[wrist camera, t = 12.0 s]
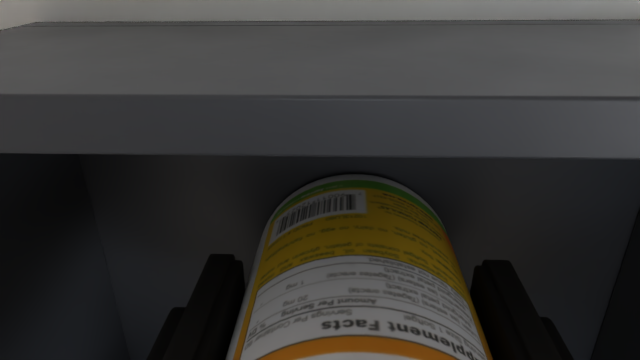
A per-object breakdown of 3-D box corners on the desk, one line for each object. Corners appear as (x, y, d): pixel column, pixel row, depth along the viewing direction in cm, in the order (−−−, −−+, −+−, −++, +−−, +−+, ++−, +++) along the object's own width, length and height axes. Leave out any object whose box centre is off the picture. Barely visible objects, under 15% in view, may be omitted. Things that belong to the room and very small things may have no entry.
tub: (35, 22, 12) (-287, 93, 6) (710, 19, 11) (1144, 98, 5) (127, 376, 18) (10, 603, 11) (586, 392, 17) (724, 646, 11)
